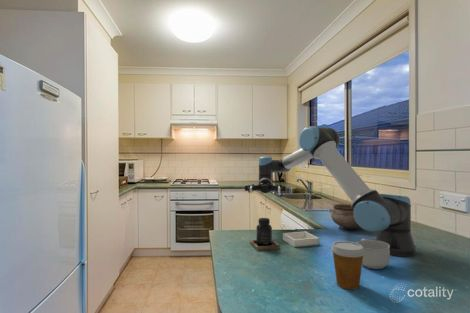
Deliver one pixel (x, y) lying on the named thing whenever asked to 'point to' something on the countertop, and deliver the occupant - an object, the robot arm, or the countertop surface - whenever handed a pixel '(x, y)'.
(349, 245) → the disposable coffee cup
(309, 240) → the cream tray
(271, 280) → the countertop surface
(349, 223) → the cooking pot
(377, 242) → the teacup
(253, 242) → the walnut collar
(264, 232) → the supplement bottle
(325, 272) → the countertop surface
